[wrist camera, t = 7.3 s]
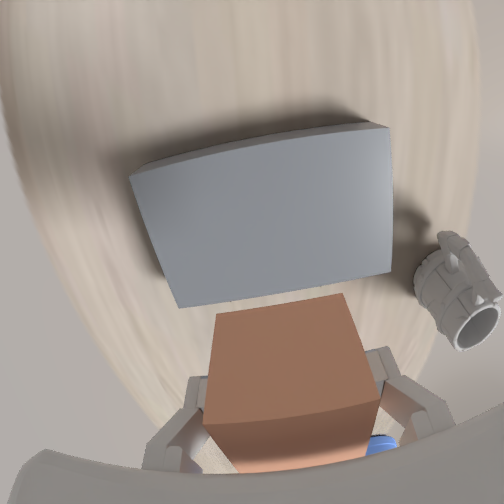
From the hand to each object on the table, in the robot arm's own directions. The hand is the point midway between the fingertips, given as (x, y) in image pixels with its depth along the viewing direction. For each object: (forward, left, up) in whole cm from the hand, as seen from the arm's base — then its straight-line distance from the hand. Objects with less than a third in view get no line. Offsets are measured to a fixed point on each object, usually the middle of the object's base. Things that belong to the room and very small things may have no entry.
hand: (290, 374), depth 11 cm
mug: (+10, +18, -18) cm, 28 cm away
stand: (0, 0, -18) cm, 18 cm away
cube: (0, 0, -2) cm, 2 cm away
